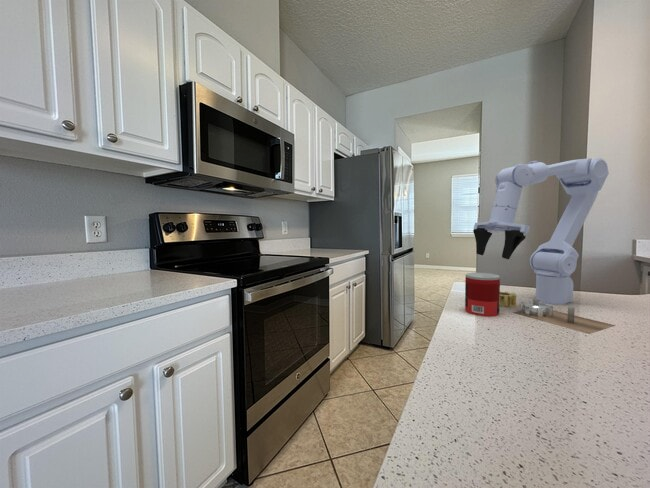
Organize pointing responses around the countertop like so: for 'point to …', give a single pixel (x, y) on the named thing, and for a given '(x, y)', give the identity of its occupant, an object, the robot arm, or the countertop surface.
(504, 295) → the brass gear
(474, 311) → the canned food
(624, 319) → the countertop surface
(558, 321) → the gear board
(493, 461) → the countertop surface
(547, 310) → the gear
